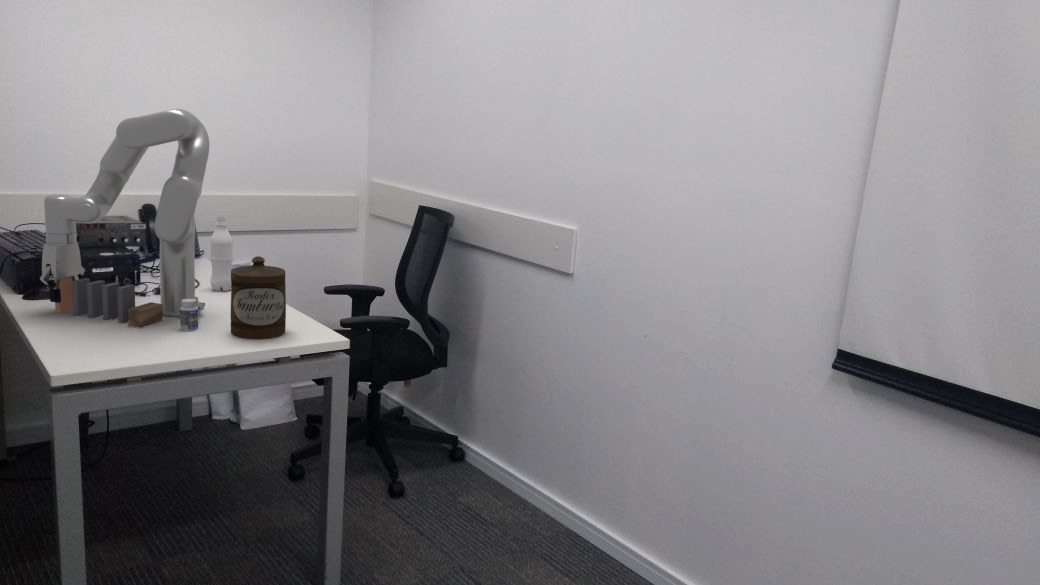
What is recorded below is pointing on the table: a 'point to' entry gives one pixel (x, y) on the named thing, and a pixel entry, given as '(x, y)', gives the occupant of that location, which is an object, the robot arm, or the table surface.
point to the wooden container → (258, 301)
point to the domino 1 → (65, 295)
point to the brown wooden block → (145, 314)
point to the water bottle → (221, 256)
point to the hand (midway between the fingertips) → (64, 299)
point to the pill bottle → (189, 315)
